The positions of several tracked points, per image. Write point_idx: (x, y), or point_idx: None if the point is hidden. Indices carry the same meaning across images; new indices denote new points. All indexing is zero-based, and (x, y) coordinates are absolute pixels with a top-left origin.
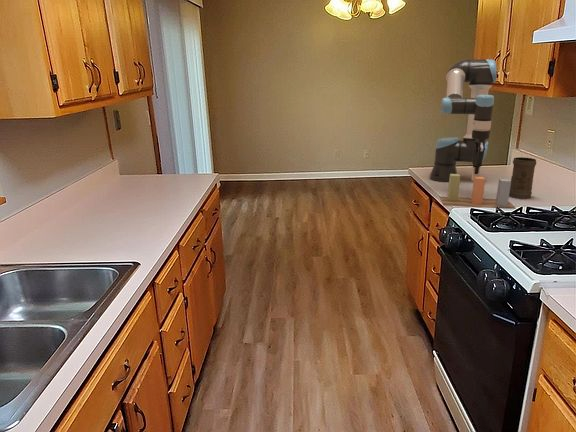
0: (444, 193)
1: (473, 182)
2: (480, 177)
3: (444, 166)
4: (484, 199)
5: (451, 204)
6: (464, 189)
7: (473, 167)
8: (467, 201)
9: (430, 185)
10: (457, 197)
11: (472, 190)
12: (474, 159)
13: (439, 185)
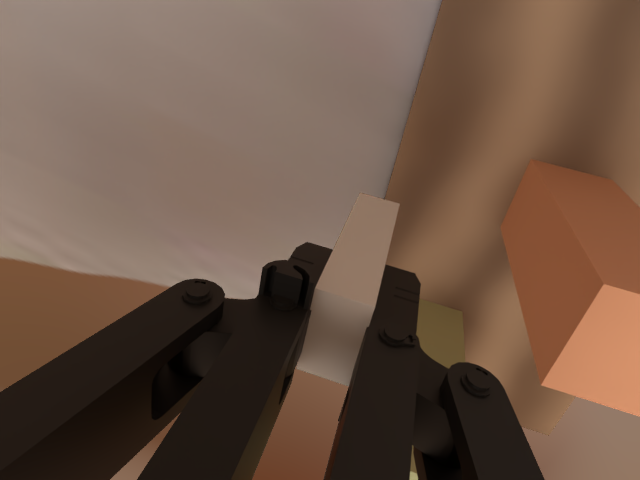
0: (202, 260)
1: (529, 331)
2: (630, 344)
3: None
4: (455, 73)
5: (536, 384)
6: (68, 62)
7: (332, 369)
8: (487, 250)
9: (21, 255)
10: (462, 332)
11: (516, 279)
12: (253, 472)
13: (4, 201)
